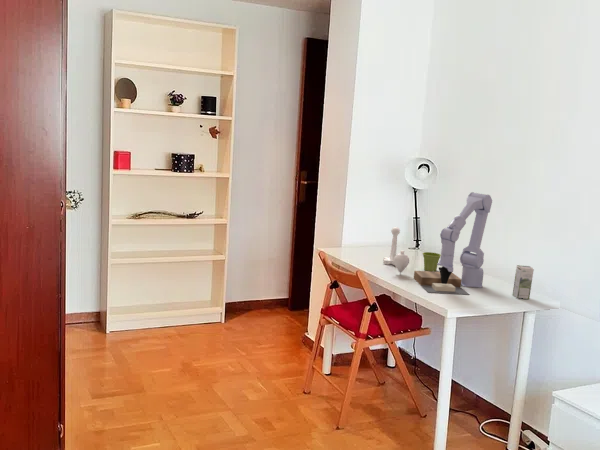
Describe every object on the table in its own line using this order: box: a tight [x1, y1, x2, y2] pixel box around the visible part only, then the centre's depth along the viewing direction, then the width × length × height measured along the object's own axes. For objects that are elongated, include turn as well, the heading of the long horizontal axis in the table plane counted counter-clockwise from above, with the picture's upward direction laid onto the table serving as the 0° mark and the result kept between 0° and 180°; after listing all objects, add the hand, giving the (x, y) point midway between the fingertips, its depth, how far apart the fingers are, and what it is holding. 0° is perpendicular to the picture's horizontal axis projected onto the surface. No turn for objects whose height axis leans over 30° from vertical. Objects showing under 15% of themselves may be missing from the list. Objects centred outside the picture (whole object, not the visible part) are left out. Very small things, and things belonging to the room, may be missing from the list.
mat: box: [420, 285, 470, 296], centre depth 285 cm, size 19×12×1 cm, turn 95°
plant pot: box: [422, 251, 441, 272], centre depth 323 cm, size 9×9×9 cm
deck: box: [413, 270, 462, 288], centre depth 297 cm, size 19×13×4 cm
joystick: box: [382, 226, 401, 267], centre depth 330 cm, size 11×8×20 cm
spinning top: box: [394, 250, 410, 275], centre depth 308 cm, size 8×8×12 cm
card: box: [432, 283, 456, 292], centre depth 285 cm, size 9×6×2 cm, turn 95°
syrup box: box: [512, 264, 535, 300], centre depth 281 cm, size 6×6×14 cm
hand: (444, 283), depth 285 cm, fingers closed
